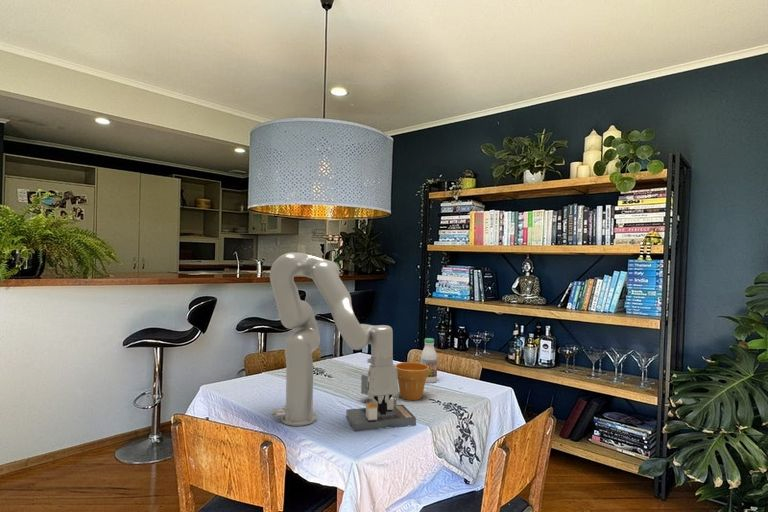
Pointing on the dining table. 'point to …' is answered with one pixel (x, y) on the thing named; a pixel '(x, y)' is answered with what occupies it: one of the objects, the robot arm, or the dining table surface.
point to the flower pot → (412, 379)
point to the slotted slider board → (380, 418)
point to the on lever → (390, 404)
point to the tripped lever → (371, 411)
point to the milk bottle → (430, 360)
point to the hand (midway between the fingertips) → (382, 413)
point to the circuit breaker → (365, 391)
